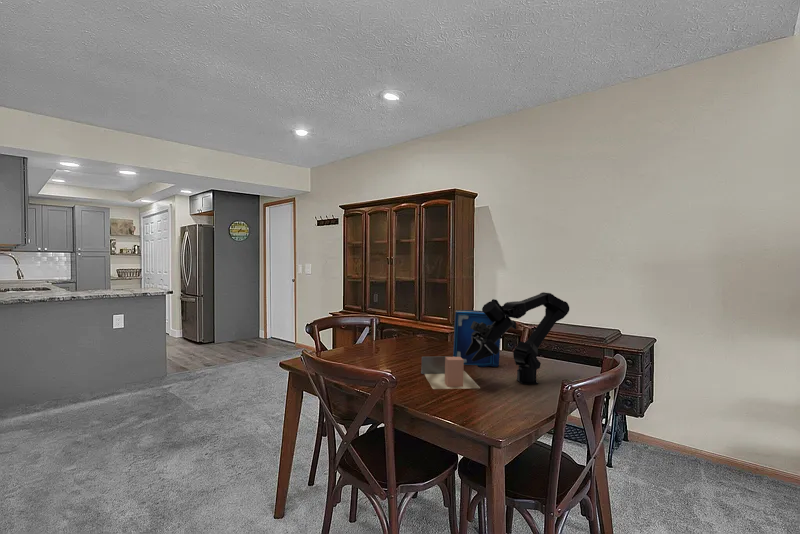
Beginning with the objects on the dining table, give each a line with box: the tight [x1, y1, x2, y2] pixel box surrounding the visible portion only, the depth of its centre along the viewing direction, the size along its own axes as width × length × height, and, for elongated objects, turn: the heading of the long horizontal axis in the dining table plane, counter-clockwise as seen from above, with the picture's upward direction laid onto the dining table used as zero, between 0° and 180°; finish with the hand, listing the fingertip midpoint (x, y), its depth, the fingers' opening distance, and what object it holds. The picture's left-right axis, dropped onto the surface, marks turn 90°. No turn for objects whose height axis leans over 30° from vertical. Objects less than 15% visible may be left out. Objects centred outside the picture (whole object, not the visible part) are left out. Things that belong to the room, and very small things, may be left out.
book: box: [452, 309, 501, 368], centre depth 194 cm, size 22×7×25 cm, turn 84°
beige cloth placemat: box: [424, 370, 481, 390], centre depth 168 cm, size 18×24×1 cm
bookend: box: [420, 355, 451, 375], centre depth 177 cm, size 12×3×7 cm, turn 96°
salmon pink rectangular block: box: [445, 356, 465, 387], centre depth 161 cm, size 6×5×10 cm
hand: (469, 357), depth 161 cm, fingers open, 9 cm apart
